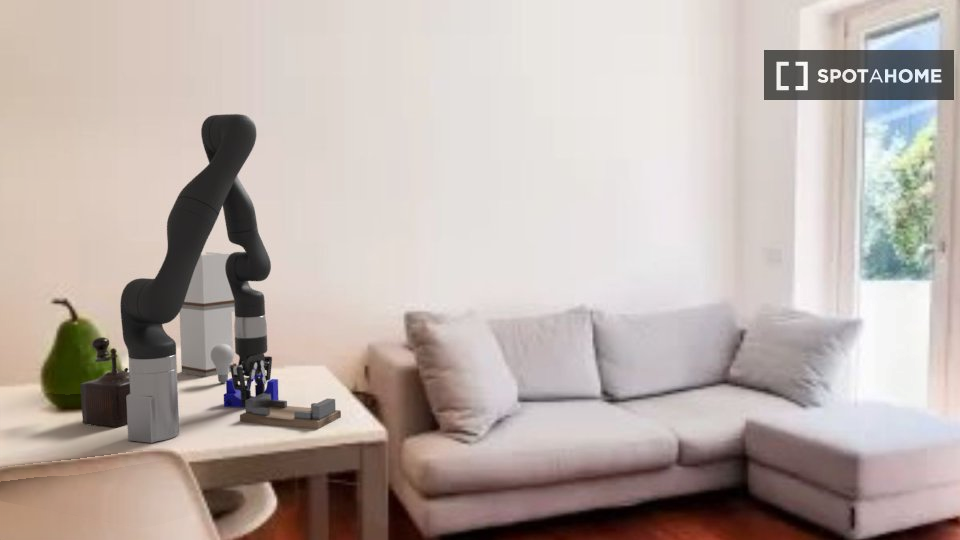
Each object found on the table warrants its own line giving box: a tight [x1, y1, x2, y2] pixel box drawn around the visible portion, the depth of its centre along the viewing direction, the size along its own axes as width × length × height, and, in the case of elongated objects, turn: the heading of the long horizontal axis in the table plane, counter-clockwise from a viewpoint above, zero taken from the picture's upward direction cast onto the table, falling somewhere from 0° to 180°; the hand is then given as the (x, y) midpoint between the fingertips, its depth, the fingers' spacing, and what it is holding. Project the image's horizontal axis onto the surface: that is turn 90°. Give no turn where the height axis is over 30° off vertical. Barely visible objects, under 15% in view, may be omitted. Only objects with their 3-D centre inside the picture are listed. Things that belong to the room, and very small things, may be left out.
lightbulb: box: [211, 344, 235, 384], centre depth 208 cm, size 6×6×11 cm
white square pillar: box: [179, 251, 238, 378], centre depth 223 cm, size 11×11×35 cm
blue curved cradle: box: [223, 377, 279, 408], centre depth 185 cm, size 12×4×6 cm, turn 83°
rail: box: [239, 393, 342, 430], centre depth 172 cm, size 10×20×4 cm, turn 72°
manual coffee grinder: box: [80, 336, 130, 429], centre depth 173 cm, size 16×11×18 cm
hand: (253, 402), depth 185 cm, fingers closed on blue curved cradle, 5 cm apart
